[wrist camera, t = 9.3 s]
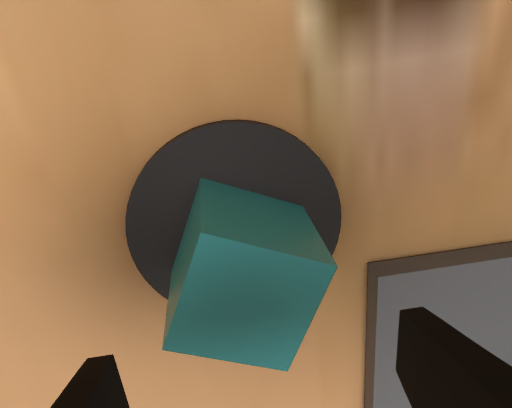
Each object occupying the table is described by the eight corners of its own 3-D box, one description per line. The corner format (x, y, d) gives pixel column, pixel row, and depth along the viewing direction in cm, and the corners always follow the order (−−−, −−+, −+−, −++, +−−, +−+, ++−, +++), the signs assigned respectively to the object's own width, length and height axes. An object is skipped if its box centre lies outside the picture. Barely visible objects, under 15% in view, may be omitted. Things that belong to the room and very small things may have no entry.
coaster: (336, 107, 16) (341, 110, 15) (337, 293, 20) (341, 301, 19) (104, 134, 15) (101, 137, 15) (150, 322, 19) (149, 331, 18)
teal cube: (302, 206, 17) (337, 266, 13) (267, 291, 18) (287, 371, 14) (200, 177, 16) (200, 232, 12) (171, 270, 17) (162, 349, 13)
